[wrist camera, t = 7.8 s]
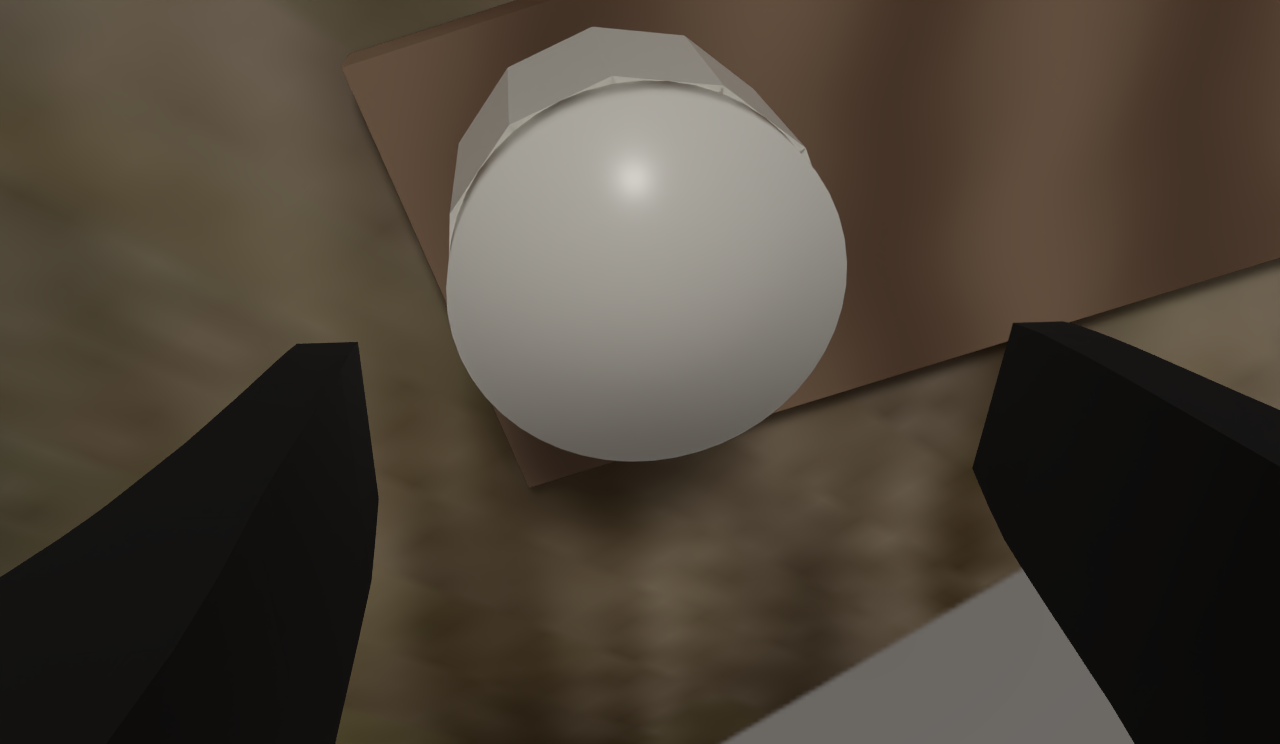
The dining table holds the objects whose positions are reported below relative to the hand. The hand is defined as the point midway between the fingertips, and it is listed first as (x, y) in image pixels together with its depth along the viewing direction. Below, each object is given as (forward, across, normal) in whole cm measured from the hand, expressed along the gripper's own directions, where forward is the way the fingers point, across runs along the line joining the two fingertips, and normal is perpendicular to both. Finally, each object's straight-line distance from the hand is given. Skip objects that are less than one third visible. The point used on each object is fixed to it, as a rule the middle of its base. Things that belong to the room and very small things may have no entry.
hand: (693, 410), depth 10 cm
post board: (+10, -6, 0) cm, 12 cm away
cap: (+7, 0, 0) cm, 7 cm away
